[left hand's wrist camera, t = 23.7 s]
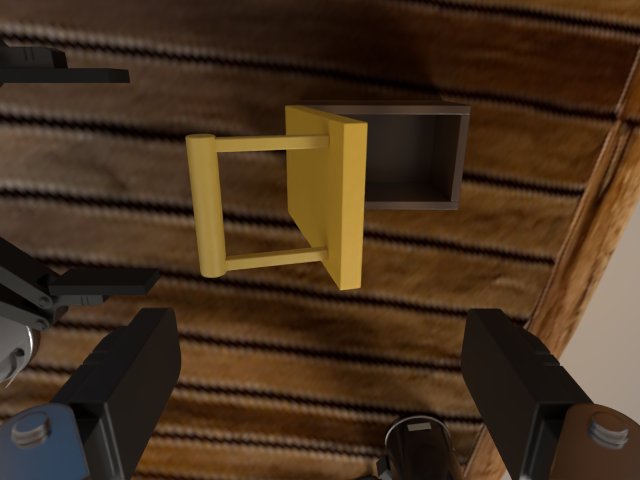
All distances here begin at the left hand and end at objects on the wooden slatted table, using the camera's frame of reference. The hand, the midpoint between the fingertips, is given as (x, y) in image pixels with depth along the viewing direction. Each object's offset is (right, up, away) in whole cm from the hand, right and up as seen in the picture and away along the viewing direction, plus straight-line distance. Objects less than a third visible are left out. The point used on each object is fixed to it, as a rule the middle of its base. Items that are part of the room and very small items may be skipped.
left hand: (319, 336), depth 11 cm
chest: (+5, +13, +34) cm, 37 cm away
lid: (0, +7, +18) cm, 20 cm away
